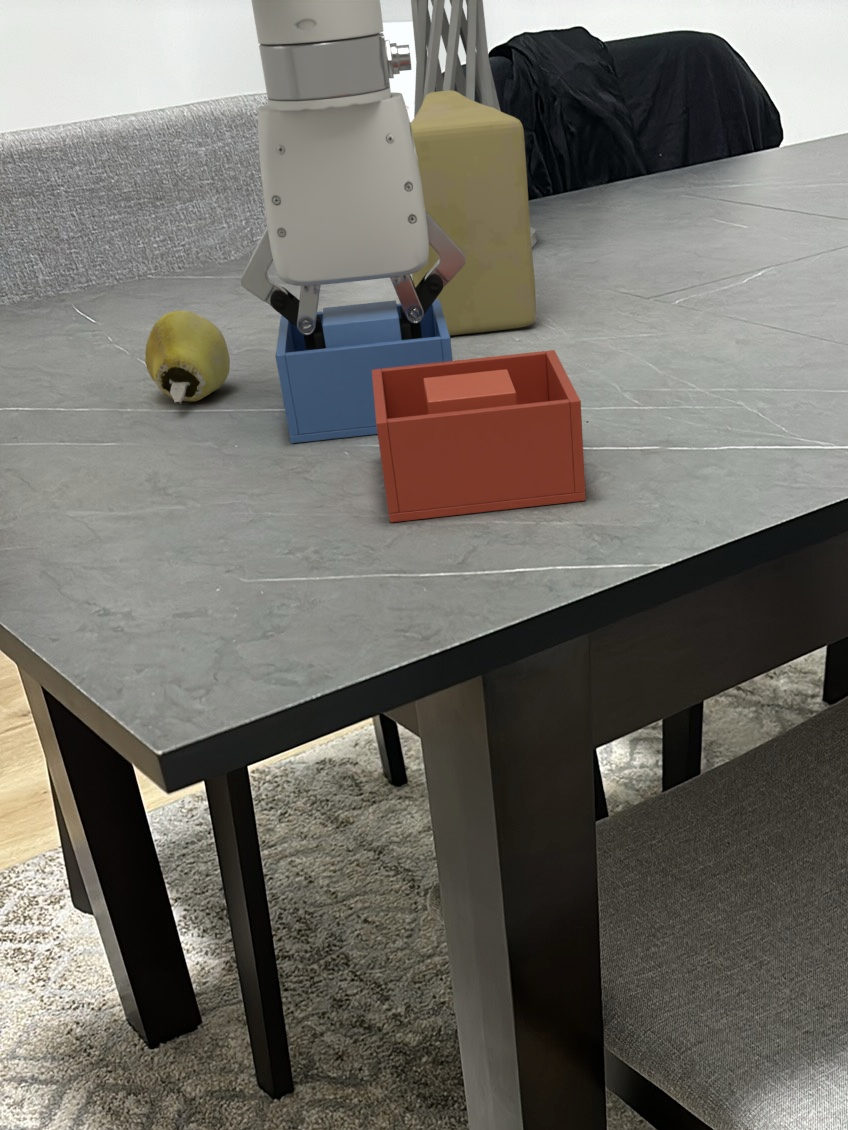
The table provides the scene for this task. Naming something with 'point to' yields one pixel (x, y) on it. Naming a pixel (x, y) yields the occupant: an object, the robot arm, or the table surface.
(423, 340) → the blue bin
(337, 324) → the blue block
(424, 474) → the red bin
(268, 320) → the table surface
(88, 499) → the table surface
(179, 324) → the mushroom
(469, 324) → the cheese
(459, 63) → the vase
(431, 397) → the red block
